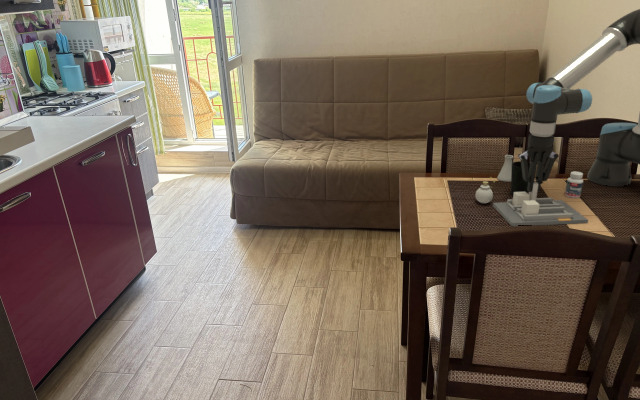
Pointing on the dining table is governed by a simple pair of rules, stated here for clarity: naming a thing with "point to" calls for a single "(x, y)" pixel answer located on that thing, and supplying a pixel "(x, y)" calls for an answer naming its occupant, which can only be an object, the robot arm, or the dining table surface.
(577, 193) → the pill bottle
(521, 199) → the tab
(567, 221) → the switch board
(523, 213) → the tab
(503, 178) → the flask
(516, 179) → the cup
